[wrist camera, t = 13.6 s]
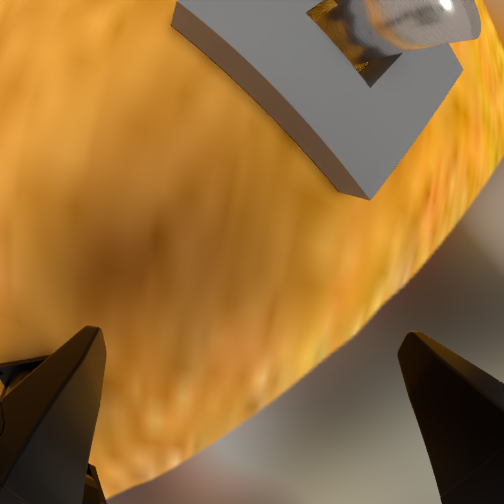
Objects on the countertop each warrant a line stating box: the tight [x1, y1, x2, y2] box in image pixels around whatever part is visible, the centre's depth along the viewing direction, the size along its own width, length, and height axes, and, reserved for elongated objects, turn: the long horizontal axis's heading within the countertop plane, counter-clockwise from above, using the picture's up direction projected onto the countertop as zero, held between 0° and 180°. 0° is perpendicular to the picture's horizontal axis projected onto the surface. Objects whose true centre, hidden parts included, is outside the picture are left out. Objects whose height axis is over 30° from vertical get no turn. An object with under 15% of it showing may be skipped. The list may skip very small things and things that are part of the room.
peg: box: [313, 0, 481, 66], centre depth 13 cm, size 4×4×11 cm
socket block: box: [171, 0, 463, 200], centre depth 16 cm, size 16×16×4 cm
